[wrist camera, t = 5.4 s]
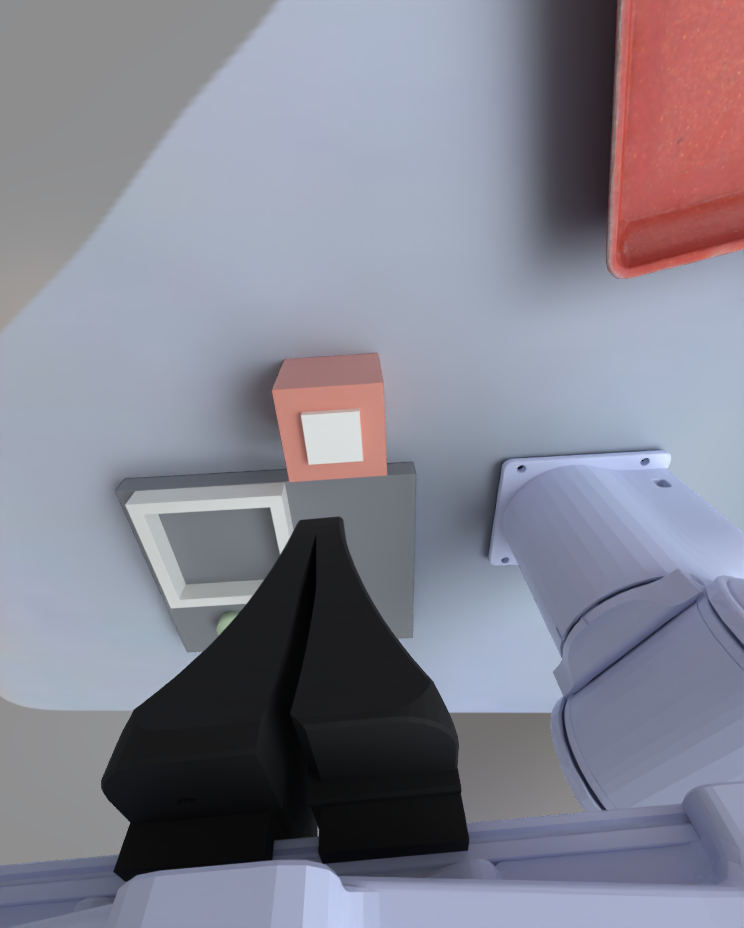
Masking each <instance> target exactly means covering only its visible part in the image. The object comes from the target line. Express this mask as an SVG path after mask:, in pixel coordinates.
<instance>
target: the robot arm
mask: <svg viewBox="0 0 744 928" xmlns="http://www.w3.org/2000/svg"><path fill="white" fill-rule="evenodd" d="M643 459H645V460H644V461H642V460H643ZM641 461H642V462H641ZM670 461H671V455H670V454H669V453H667V452H666V451H664V450H657V451H639V452H622V453H605V454H587V455H570V456H553V457H535V458H518V459H509V460H507V461H505V462H504V463H503V465H502V469H501V476H500V483H499V489H498V496H497V503H496V509H495V516H494V523H493V529H492V536H491V543H490V550H489V556H488V559H489V562H490V563H491V565H494V566H500V565H516V564H518V566H519V568H520V570H521V572H522V574H523V576H524V578H525V581H526V583H527V585H528V587H529V589H530V591H531V593H532V595H533V598H534V600H535V602H536V604H537V606H538V608H539V610H540V613H541V615H542V617H543V619H544V621H545V623H546V625H547V627H548V630H549V632H550V634H551V636H552V638H553V640H554V642H555V644H556V647H557V649H558V651H559V653H560V655H561V657H562V661H561V663H560V664H559V666H558V667H557V668H556V669H555V670H554V671H553V674H554V676H555V678H556V680H557V683H558V685H559V687H560V690H561V692H562V694H563V697H562V698H560V699H559V700H558V701H557V703H556V704H555V706H554V708H553V711H552V716H551V733H552V739H553V744H554V748H555V751H556V755H557V758H558V761H559V763H560V766H561V768H562V771H563V774H564V776H565V778H566V781H567V783H568V785H569V787H570V789H571V791H572V792H573V794H574V796H575V798H576V799H577V801H578V803H579V804H580V806H581V807H582V809H583V810H584V811H585V812H581V813H570V814H559V815H548V816H538V817H526V818H515V819H505V820H493V821H482V822H471V823H466V819H465V813H464V808H463V803H462V797H461V784H460V779H459V774H458V768H457V764H458V749H459V743H458V736H457V733H456V730H455V727H454V724H453V721H452V719H451V716H450V714H449V712H448V710H447V708H446V706H445V704H444V702H443V700H442V698H441V696H440V694H439V692H438V690H437V688H436V686H435V684H434V682H433V681H432V680H431V679H430V677H429V676H428V675H427V674H426V673H425V672H424V671H423V670H422V669H421V667H420V666H419V665H418V664H417V663H416V662H415V661H414V659H413V658H412V657H411V656H410V654H409V653H408V652H407V651H406V649H405V648H404V647H403V646H402V644H401V643H400V642H399V640H398V639H397V638H396V636H395V635H394V633H393V632H392V631H391V629H390V628H389V626H388V625H387V624H386V622H385V621H384V619H383V618H382V616H381V614H380V613H379V611H378V610H377V608H376V606H375V605H374V603H373V601H372V599H371V598H370V596H369V594H368V592H367V590H366V588H365V586H364V584H363V582H362V580H361V578H360V576H359V574H358V572H357V570H356V567H355V565H354V562H353V560H352V557H351V554H350V552H349V549H348V546H347V541H346V534H345V528H344V521H343V519H342V518H341V517H340V516H338V517H327V518H316V519H305V520H300V521H299V522H298V523H297V525H296V527H295V529H294V531H293V533H292V534H291V536H290V538H289V540H288V542H287V544H286V545H285V547H284V549H283V551H282V552H281V554H280V556H279V557H278V559H277V561H276V562H275V564H274V565H273V567H272V569H271V570H270V572H269V573H268V575H267V576H266V578H265V579H264V580H263V582H262V583H261V585H260V586H259V588H258V589H257V590H256V592H255V593H254V595H253V596H252V597H251V598H250V600H249V601H248V602H247V604H246V605H245V606H244V607H243V609H242V610H241V611H240V612H239V613H238V615H237V616H236V617H235V618H234V619H233V621H232V622H231V623H230V624H229V625H228V626H227V627H226V628H225V629H224V630H223V632H222V633H221V634H220V635H219V636H218V637H217V638H216V639H215V640H214V641H213V642H212V643H211V644H210V645H209V646H208V647H207V648H206V649H205V650H204V651H203V652H202V653H201V654H200V655H199V656H198V657H197V658H196V659H194V660H193V661H192V662H191V663H190V664H189V665H188V666H187V667H186V668H185V669H184V670H183V671H182V672H180V673H179V674H178V675H177V676H176V677H175V678H173V679H172V680H171V681H170V682H169V683H167V684H166V685H165V686H164V687H162V688H161V689H160V690H159V691H157V692H156V693H155V694H154V695H152V696H151V697H150V698H149V699H147V700H146V701H145V702H144V703H142V704H141V705H140V706H138V707H137V708H136V709H134V710H133V713H132V715H131V717H130V719H129V721H128V722H127V724H126V726H125V728H124V729H123V731H122V734H121V736H120V738H119V740H118V742H117V745H116V747H115V749H114V752H113V754H112V757H111V759H110V761H109V763H108V766H107V768H106V770H105V773H104V775H103V777H102V780H101V788H102V791H103V793H104V794H105V796H106V797H107V799H108V800H109V801H110V802H111V803H112V804H113V805H114V806H115V807H116V808H117V809H118V810H119V811H120V812H121V813H122V814H123V815H124V816H125V817H126V818H127V819H128V821H129V822H130V825H129V828H128V831H127V834H126V837H125V840H124V842H123V845H122V848H121V851H120V854H119V855H110V856H98V857H88V858H78V859H77V858H76V859H65V860H55V861H44V862H33V863H22V864H11V865H0V928H744V533H743V532H742V531H741V530H739V529H738V528H737V527H736V526H735V525H733V524H732V523H731V522H730V521H729V520H727V519H726V518H725V517H724V516H723V515H721V514H720V513H719V512H718V511H717V510H715V509H714V508H713V507H712V506H711V505H709V504H708V503H707V502H706V501H705V500H703V499H702V498H701V497H700V496H699V495H697V494H696V493H695V492H694V491H693V490H691V489H690V488H689V487H688V486H687V485H685V484H684V483H683V482H682V481H681V480H679V479H678V478H677V477H676V476H675V475H673V474H672V473H671V472H670V471H669V470H667V468H668V466H669V463H670ZM521 465H524V466H523V467H522V468H521V469H517V468H518V467H519V466H521ZM505 557H506V558H505ZM503 558H504V559H503ZM317 825H318V828H319V836H318V837H317Z"/></svg>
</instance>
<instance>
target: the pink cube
mask: <svg viewBox="0 0 744 928" xmlns="http://www.w3.org/2000/svg"><path fill="white" fill-rule="evenodd" d="M272 394H273V399H274V404H275V410H276V415H277V420H278V425H279V430H280V436H281V441H282V446H283V451H284V456H285V462H286V467H287V472H288V477H289V482H300V481H314V480H329V479H343V478H358V477H372V476H386V475H387V457H386V432H385V407H384V383H383V377H382V372H381V366H380V361H379V356H378V353H369V354H354V355H340V356H325V357H310V358H295V359H284V362H283V364H282V367H281V369H280V371H279V374H278V376H277V379H276V381H275V383H274V386H273V388H272Z"/></svg>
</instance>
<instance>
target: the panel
mask: <svg viewBox="0 0 744 928" xmlns="http://www.w3.org/2000/svg"><path fill="white" fill-rule="evenodd" d="M115 492H116V495H117V497H118V499H119V501H120V504H121V506H122V508H123V510H124V512H125V515H126V517H127V519H128V521H129V524H130V526H131V528H132V530H133V533H134V535H135V537H136V539H137V541H138V544H139V546H140V548H141V550H142V553H143V555H144V557H145V559H146V562H147V564H148V566H149V568H150V571H151V573H152V575H153V577H154V579H155V582H156V584H157V586H158V588H159V591H160V593H161V595H162V597H163V600H164V602H165V604H166V606H167V608H168V611H169V613H170V615H171V617H172V620H173V622H174V624H175V626H176V629H177V631H178V633H179V635H180V638H181V640H182V642H183V644H184V646H185V649H186V651H187V652H200V651H204V650H205V649H206V648H207V647H208V646H209V645H210V644H211V643H212V642H213V641H214V640H215V639H216V638H217V637H218V636H219V635H220V634H221V633H222V632H223V630H224V629H225V628H226V627H227V626H228V625H229V624H230V623H231V622H232V621H233V619H234V618H235V617H236V616H237V615H238V613H239V612H240V611H241V610H242V609H243V607H244V606H245V605H246V604H247V602H248V601H249V600H250V598H251V597H252V596H253V595H254V593H255V592H256V590H257V589H258V588H259V586H260V585H261V583H262V582H263V580H264V579H265V578H266V576H267V575H268V573H269V572H270V570H271V569H272V567H273V565H274V564H275V562H276V561H277V559H278V557H279V556H280V554H281V552H282V551H283V549H284V547H285V545H286V544H287V542H288V540H289V538H290V536H291V534H292V533H293V531H294V529H295V527H296V525H297V523H298V522H299V521H300V520H305V519H316V518H327V517H338V516H340V517H341V518H342V519H343V521H344V528H345V534H346V541H347V546H348V549H349V552H350V554H351V557H352V560H353V562H354V565H355V567H356V570H357V572H358V574H359V576H360V578H361V580H362V582H363V584H364V586H365V588H366V590H367V592H368V594H369V596H370V598H371V599H372V601H373V603H374V605H375V606H376V608H377V610H378V611H379V613H380V614H381V616H382V618H383V619H384V621H385V622H386V624H387V625H388V626H389V628H390V629H391V631H392V632H393V633H394V635H395V636H396V638H397V639H398V638H413V599H414V551H415V503H416V471H415V467H414V463H413V462H407V463H390V464H387V475H386V476H372V477H358V478H343V479H329V480H314V481H300V482H289V477H288V472H287V469H286V470H268V471H251V472H234V473H216V474H199V475H181V476H164V477H147V478H129V479H125V480H124V481H123V482H122V483H121V485H120V486H119V487H118V488H117V490H116V491H115Z"/></svg>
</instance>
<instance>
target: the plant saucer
mask: <svg viewBox="0 0 744 928" xmlns="http://www.w3.org/2000/svg"><path fill="white" fill-rule="evenodd" d="M743 249H744V0H617V15H616V41H615V66H614V88H613V109H612V131H611V153H610V175H609V198H608V220H607V243H606V264H607V268H608V271H609V272H610V273H611V275H612V276H614V277H616V278H617V279H629V278H634V277H637V276H641V275H645V274H649V273H653V272H656V271H659V270H664V269H669V268H673V267H677V266H681V265H685V264H689V263H694V262H697V261H701V260H704V259H708V258H711V257H715V256H719V255H723V254H728V253H732V252H735V251H739V250H743Z"/></svg>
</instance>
